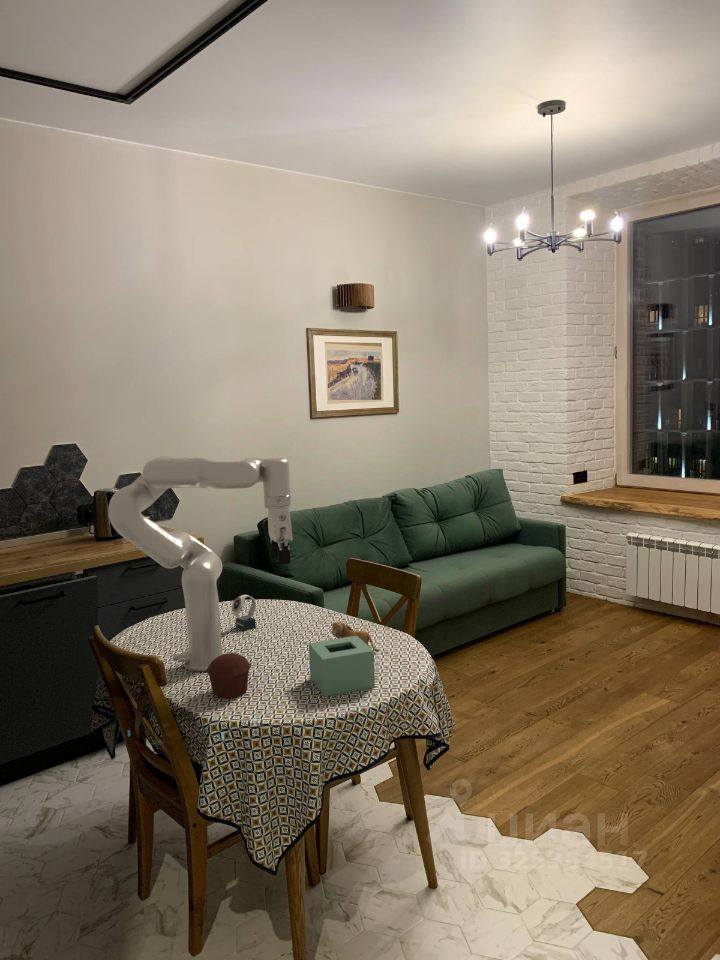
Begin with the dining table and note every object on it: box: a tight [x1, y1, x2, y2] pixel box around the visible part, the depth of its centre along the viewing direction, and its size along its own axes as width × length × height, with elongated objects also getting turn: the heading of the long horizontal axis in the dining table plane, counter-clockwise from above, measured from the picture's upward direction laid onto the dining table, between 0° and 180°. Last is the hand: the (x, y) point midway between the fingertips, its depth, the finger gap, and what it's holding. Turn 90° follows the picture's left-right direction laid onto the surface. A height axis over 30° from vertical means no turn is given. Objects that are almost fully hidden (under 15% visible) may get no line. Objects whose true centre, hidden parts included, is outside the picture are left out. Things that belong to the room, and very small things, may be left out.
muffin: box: [205, 652, 252, 700], centre depth 191 cm, size 12×11×10 cm
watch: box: [231, 594, 257, 632], centre depth 243 cm, size 6×8×11 cm
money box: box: [308, 636, 376, 697], centre depth 195 cm, size 14×13×10 cm
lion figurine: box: [331, 620, 380, 653], centre depth 217 cm, size 15×5×9 cm, turn 73°
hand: (280, 560), depth 208 cm, fingers open, 9 cm apart
